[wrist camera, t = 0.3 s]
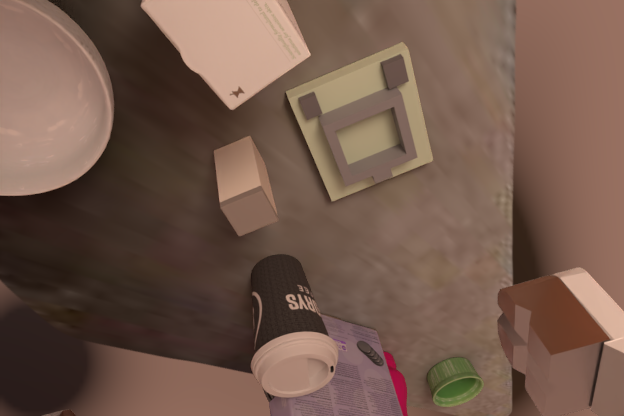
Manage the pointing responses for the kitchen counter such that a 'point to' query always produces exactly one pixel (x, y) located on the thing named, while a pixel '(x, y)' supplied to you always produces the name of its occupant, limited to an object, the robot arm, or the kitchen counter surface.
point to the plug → (244, 186)
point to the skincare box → (232, 42)
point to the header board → (363, 121)
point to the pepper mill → (397, 382)
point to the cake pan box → (347, 379)
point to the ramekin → (454, 382)
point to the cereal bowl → (49, 99)
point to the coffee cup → (288, 331)
